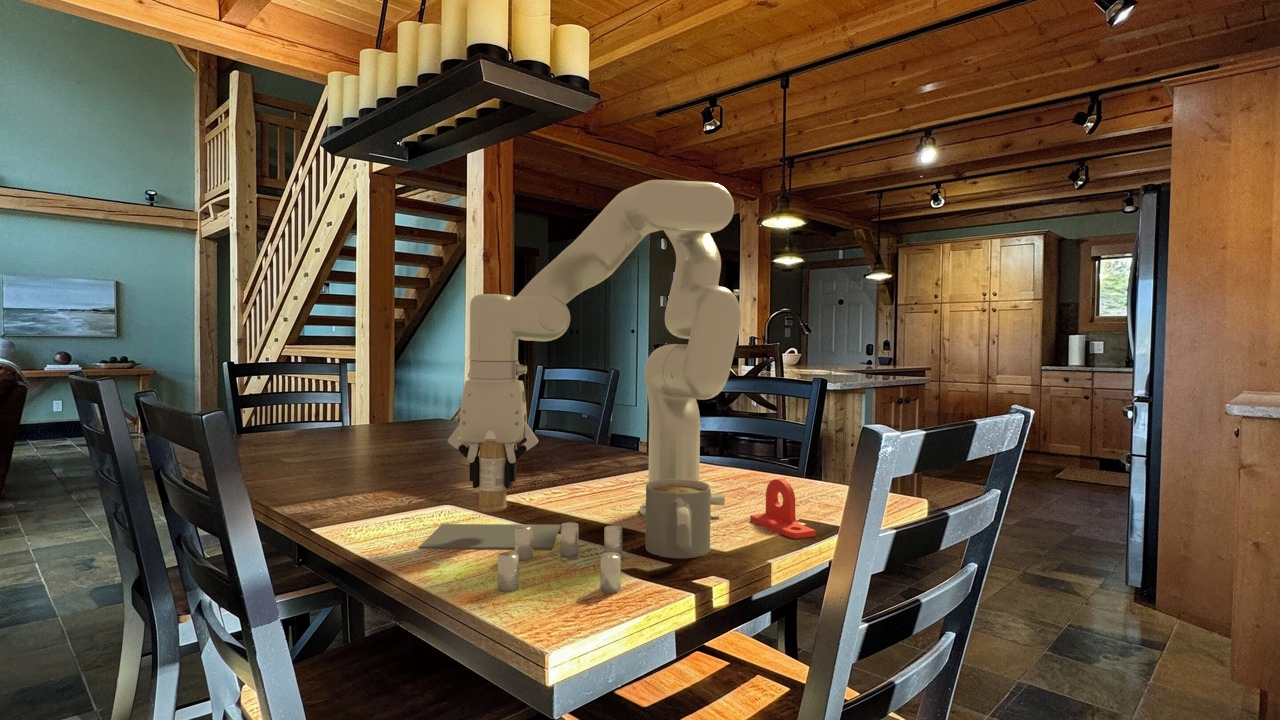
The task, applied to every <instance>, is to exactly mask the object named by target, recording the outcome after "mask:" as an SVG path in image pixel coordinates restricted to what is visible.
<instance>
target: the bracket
mask: <svg viewBox="0 0 1280 720" xmlns="http://www.w3.org/2000/svg"><path fill="white" fill-rule="evenodd" d="M779 493H780V495H781V496H782V503H780V502H779V498H778V497H779ZM749 520H750V521H752V522H751V523H753V522H754V523H753V524H755V523H756V524H755V525H758V524H759V525H758V526H760V525H761V527H763V528H765V527H766V529H768V530H770V531H772V530H773V531H772V532H775V533H777V532H778V533H777V534H780V535H782V536H785V537H787V538H790V539H793V540H794V539H795V540H797V539H805V538H813V537H816V536H817V535H816V533H817V529H814V528H812V527H808V526H806V525H803V524H802V523H799V522H798V521H797V519H796V494H795V491H794V490H793V487H792V485H791V484H790V483H789V481H787V480H786V479H784V478H777V479H772V480H771V481H770V482H768V484H767V487H766V489H765V513H758V514H751V515H750V516H749ZM750 521H749V522H750Z"/></svg>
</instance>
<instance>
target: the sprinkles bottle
mask: <svg viewBox="0 0 1280 720" xmlns="http://www.w3.org/2000/svg"><path fill="white" fill-rule="evenodd" d="M484 439H487V441H485V443H482V444H480V453H479V486H478V490H479V493H478V494H479V495H478V496H479V497H478V498H479V500H478V502H479V503H478V509H479V510H480V511H483V512H487V513H489V512H490V513H493V512H501V511H504V510H506V509H507V507H508V503H507V489H508V488H506V487H505V464H506V463H507V459H508V457H507V452H506V448H505V444H499V443H496V441H488V440H494V439H497V438H496V436H495V434H494V432H493V431H492V430H489V431H488V432H487V433H486V435H485V438H484Z"/></svg>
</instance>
